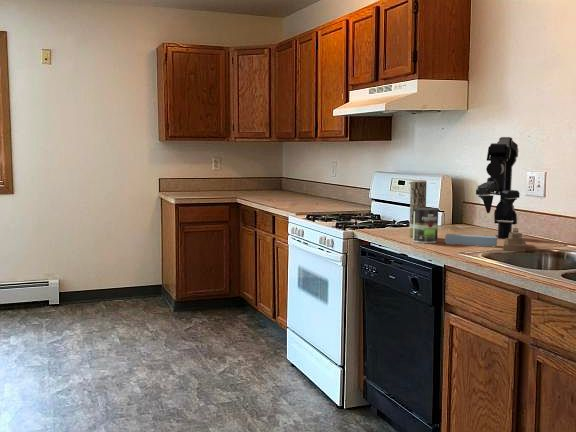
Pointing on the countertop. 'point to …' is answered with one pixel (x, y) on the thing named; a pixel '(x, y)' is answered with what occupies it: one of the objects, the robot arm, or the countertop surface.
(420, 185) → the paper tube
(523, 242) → the ridge stand
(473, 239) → the beam
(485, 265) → the countertop surface
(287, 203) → the countertop surface
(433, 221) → the coffee can
